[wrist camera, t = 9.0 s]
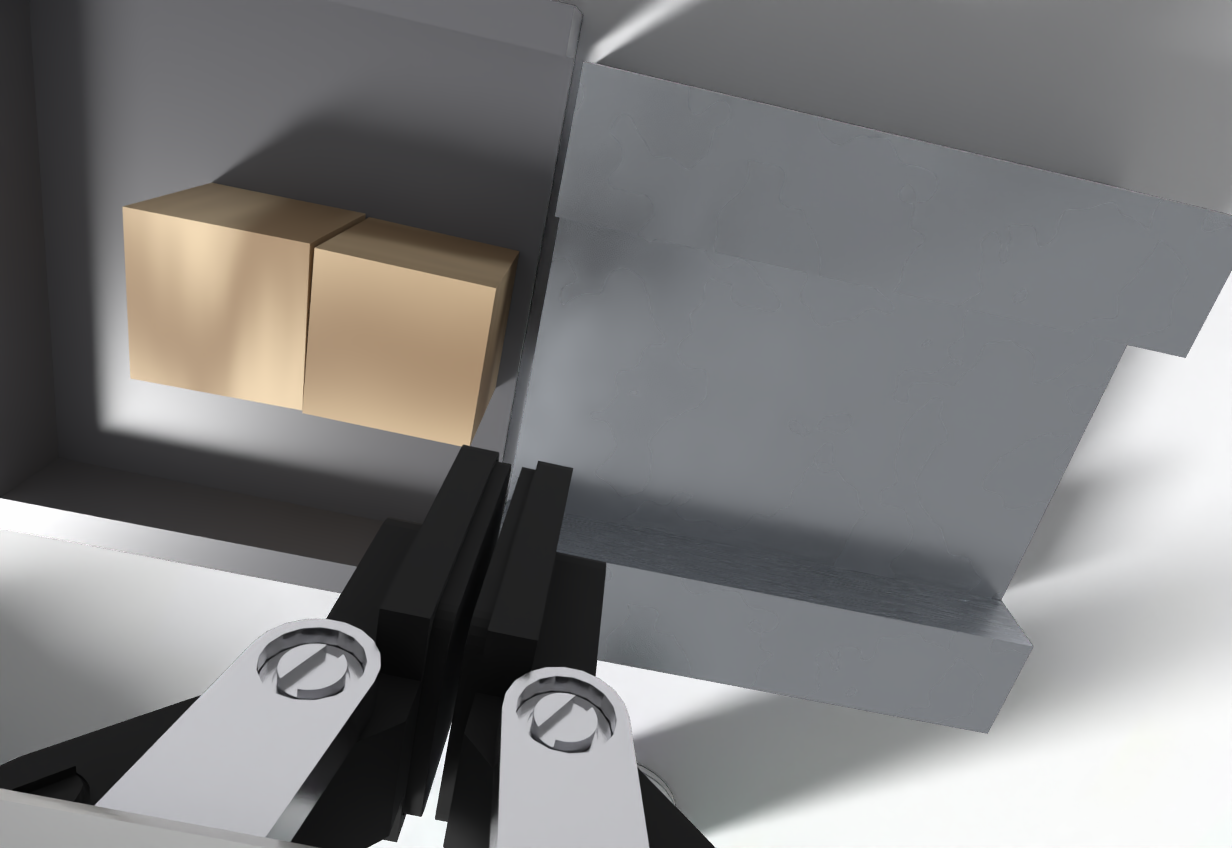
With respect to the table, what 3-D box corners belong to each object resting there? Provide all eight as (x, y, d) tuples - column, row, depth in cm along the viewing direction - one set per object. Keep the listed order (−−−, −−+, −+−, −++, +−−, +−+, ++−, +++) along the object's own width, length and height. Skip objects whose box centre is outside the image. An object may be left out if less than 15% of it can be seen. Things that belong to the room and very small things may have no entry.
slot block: (595, 62, 20) (583, 61, 16) (1122, 188, 21) (1257, 221, 17) (505, 536, 26) (477, 637, 21) (926, 619, 27) (987, 733, 22)
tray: (-9, -129, 19) (-118, -162, 16) (583, 14, 20) (574, 5, 17) (37, 472, 25) (-35, 521, 22) (485, 559, 26) (467, 617, 23)
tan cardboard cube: (365, 213, 21) (211, 182, 21) (309, 244, 18) (122, 206, 17) (355, 355, 23) (212, 328, 23) (302, 410, 19) (130, 378, 19)
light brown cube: (369, 216, 21) (314, 247, 18) (519, 251, 22) (495, 288, 18) (355, 358, 23) (302, 413, 19) (495, 388, 23) (469, 448, 20)
